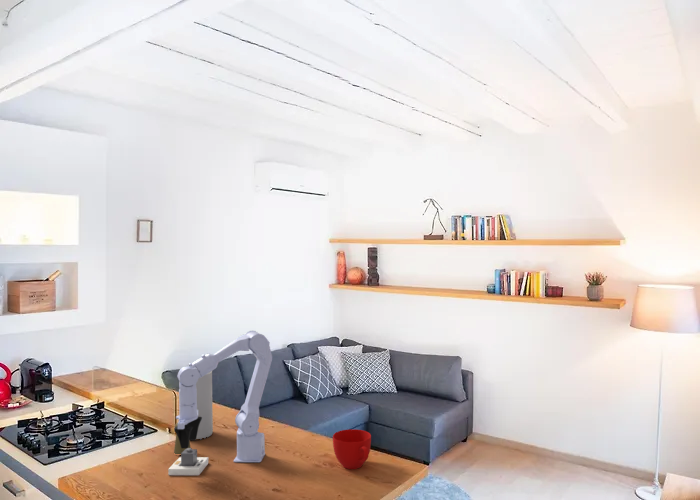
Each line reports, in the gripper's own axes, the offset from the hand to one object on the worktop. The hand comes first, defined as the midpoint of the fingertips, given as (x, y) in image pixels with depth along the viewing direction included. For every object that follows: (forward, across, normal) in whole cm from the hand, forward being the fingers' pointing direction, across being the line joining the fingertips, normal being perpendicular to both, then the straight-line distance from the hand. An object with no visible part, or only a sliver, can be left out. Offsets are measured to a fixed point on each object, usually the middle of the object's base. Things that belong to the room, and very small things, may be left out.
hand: (188, 443), depth 180 cm
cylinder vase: (+9, -32, -9) cm, 35 cm away
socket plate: (+8, 0, 0) cm, 8 cm away
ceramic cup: (+9, -2, +55) cm, 56 cm away
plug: (+8, 0, 0) cm, 9 cm away
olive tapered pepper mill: (+9, -14, -8) cm, 18 cm away
